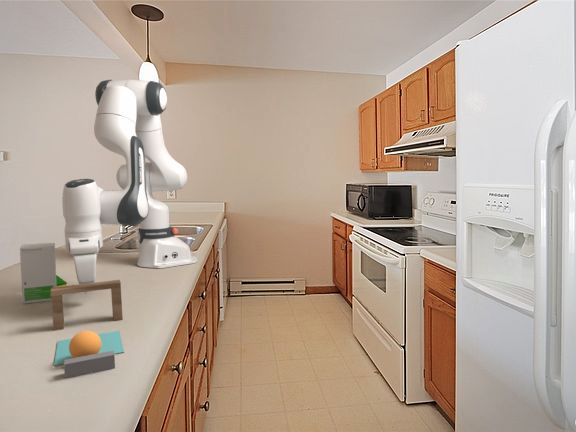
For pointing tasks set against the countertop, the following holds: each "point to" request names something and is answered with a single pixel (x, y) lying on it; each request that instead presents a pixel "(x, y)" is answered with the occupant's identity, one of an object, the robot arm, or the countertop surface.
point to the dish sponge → (60, 282)
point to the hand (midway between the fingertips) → (88, 291)
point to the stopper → (89, 364)
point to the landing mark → (108, 343)
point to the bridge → (59, 291)
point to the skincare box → (37, 271)
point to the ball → (84, 344)
